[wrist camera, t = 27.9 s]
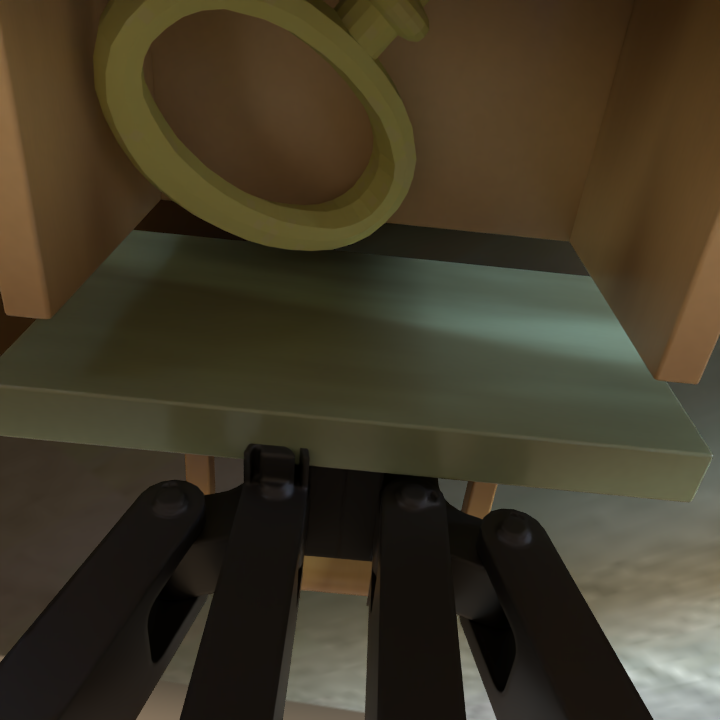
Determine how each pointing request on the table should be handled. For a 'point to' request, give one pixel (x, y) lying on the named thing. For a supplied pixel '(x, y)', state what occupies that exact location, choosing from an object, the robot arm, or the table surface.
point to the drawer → (376, 272)
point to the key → (211, 192)
